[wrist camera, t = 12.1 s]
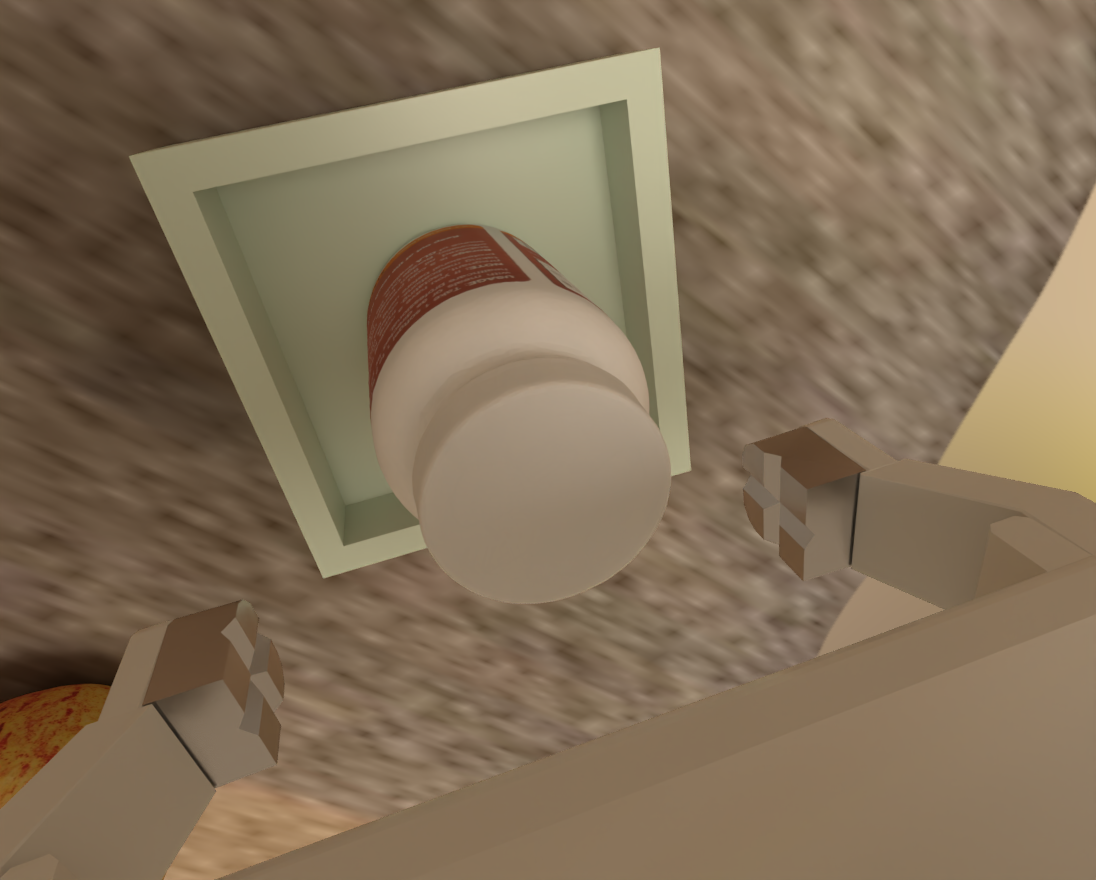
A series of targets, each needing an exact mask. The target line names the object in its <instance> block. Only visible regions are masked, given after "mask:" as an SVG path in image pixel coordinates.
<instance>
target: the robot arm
mask: <svg viewBox="0 0 1096 880" xmlns="http://www.w3.org/2000/svg"><path fill="white" fill-rule="evenodd" d="M743 467H744V468H745V469H746V470H747V471H748V472H749V473H750V474H751V476H750V477H749V479H748V481H747V483H746V484H745V486H744V488H743V496H744V506H745V509H746V512H747V515H748V518H749V521H750V522H751V524H752V526H753V527H754V529H755V530H756V532H757V533H758V534H759V535H760V536H761V537H762V538H763V539H764V540H767V541H770V542H773V543H776V544H779V556H780V557H781V558H782V560H783V561H784V562H785V563H786V564H787V565H788V566H789V567H790V568H791V569H792V570H793V571H794V572H795V573H796V574H797V575H798V576H799V577H800V578H801V580H802V581H806V580H809V579H813V578H816V577H819V576H822V575H825V574H828V573H831V572H835V571H838V570H841V569H844V568H847V567H850V566H851V569H853V570H855V571H858V572H860V573H862V574H865V575H867V576H869V577H871V578H874V579H876V580H878V581H881V582H883V583H885V584H887V585H890V586H892V587H895V588H897V589H899V590H901V591H904V592H906V593H908V594H910V595H913V596H915V597H918V598H920V599H922V600H924V601H927V602H929V603H931V604H934V605H936V606H938V607H940V608H943V609H945V610H943V611H940V612H938V613H935V614H932V615H930V616H927V617H925V618H922V619H919V620H917V621H914V622H911V623H908V624H906V625H903V626H900V627H897V628H895V629H892V630H889V631H887V632H884V633H881V634H879V635H876V636H873V637H871V638H868V639H865V640H863V641H860V642H857V643H855V644H852V645H849V646H846V647H844V648H841V649H838V650H836V651H833V652H830V653H827V654H824V655H822V656H819V657H816V658H814V659H811V660H808V661H805V662H803V663H800V664H797V665H795V666H792V667H789V668H786V669H784V670H781V671H778V672H776V673H773V674H770V675H767V676H765V677H762V678H759V679H756V680H754V681H751V682H748V683H746V684H743V685H740V686H737V687H735V688H732V689H729V690H727V691H724V692H721V693H718V694H716V695H713V696H710V697H708V698H705V699H702V700H699V701H697V702H694V703H691V704H689V705H686V706H683V707H680V708H678V709H675V710H672V711H670V712H667V713H664V714H661V715H659V716H656V717H653V718H651V719H648V720H645V721H643V722H640V723H637V724H634V725H632V726H629V727H626V728H624V729H621V730H618V731H616V732H613V733H610V734H607V735H605V736H602V737H599V738H597V739H594V740H591V741H589V742H586V743H583V744H580V745H578V746H575V747H572V748H570V749H567V750H564V751H562V752H559V753H556V754H553V755H551V756H548V757H545V758H543V759H540V760H537V761H534V762H532V763H529V764H526V765H524V766H521V767H518V768H516V769H513V770H510V771H507V772H505V773H502V774H499V775H497V776H494V777H491V778H489V779H486V780H483V781H480V782H478V783H475V784H472V785H470V786H467V787H464V788H462V789H459V790H456V791H453V792H451V793H448V794H445V795H443V796H440V797H437V798H434V799H432V800H429V801H426V802H424V803H421V804H418V805H416V806H413V807H410V808H407V809H405V810H402V811H399V812H397V813H394V814H391V815H388V816H386V817H383V818H380V819H378V820H375V821H372V822H370V823H367V824H364V825H361V826H359V827H356V828H353V829H351V830H348V831H345V832H342V833H340V834H337V835H334V836H332V837H329V838H326V839H324V840H321V841H318V842H315V843H313V844H310V845H307V846H305V847H302V848H299V849H296V850H294V851H291V852H288V853H286V854H283V855H280V856H278V857H275V858H272V859H269V860H267V861H264V862H261V863H259V864H256V865H253V866H250V867H248V868H245V869H242V870H240V871H237V872H234V873H232V874H229V875H226V876H223V877H221V878H218V879H215V880H1096V503H1094V502H1093V501H1091V500H1089V499H1087V498H1085V497H1083V496H1082V495H1080V494H1078V493H1076V492H1071V491H1066V490H1061V489H1056V488H1051V487H1046V486H1041V485H1036V484H1031V483H1026V482H1021V481H1015V480H1011V479H1006V478H1000V477H996V476H991V475H985V474H981V473H976V472H970V471H966V470H961V469H955V468H950V467H946V466H941V465H936V464H930V463H925V462H920V461H915V460H910V459H903V460H900V461H896V460H895V459H893V458H892V457H890V456H889V455H887V454H886V453H884V452H883V451H881V450H880V449H878V448H877V447H875V446H874V445H872V444H871V443H869V442H868V441H866V440H865V439H863V438H862V437H860V436H859V435H857V434H856V433H854V432H853V431H851V430H850V429H848V428H847V427H845V426H844V425H842V424H841V423H839V422H838V421H836V420H834V419H829V418H824V419H822V420H819V421H816V422H813V423H810V424H807V425H804V426H801V427H799V428H798V429H795V430H792V431H789V432H785V433H782V434H779V435H776V436H773V437H770V438H766V439H763V440H760V441H757V442H754V443H751V444H747V445H745V448H744V451H743ZM258 623H259V617H258V615H257V614H256V612H255V610H254V609H253V607H252V605H251V604H250V602H247V601H245V600H239V601H236V602H232V603H229V604H225V605H222V606H218V607H215V608H211V609H208V610H204V611H201V612H197V613H194V614H190V615H187V616H183V617H180V618H176V619H174V620H171V621H167V622H163V623H160V624H157V625H153V626H150V627H147V628H144V629H140V630H138V631H137V632H136V633H134V634H133V635H132V636H131V638H130V640H129V642H128V645H127V647H126V650H125V653H124V655H123V658H122V660H121V663H120V665H119V668H118V670H117V673H116V676H115V678H114V681H113V683H112V686H111V688H110V691H109V694H108V696H107V699H106V701H105V704H104V706H103V709H102V711H101V714H100V717H99V719H98V721H97V722H94V723H91V724H88V725H86V726H85V727H84V728H83V729H82V730H81V731H80V732H79V733H77V734H76V735H75V736H74V737H73V738H72V739H71V740H70V741H69V742H68V743H67V744H66V745H65V746H64V747H63V748H62V749H61V750H60V751H59V752H58V753H57V754H56V755H55V756H54V757H53V758H52V759H51V760H50V761H49V762H48V763H47V764H46V765H45V766H44V767H43V768H42V769H41V770H40V771H39V772H38V773H37V774H36V775H35V776H34V777H33V778H32V779H31V780H30V781H29V782H28V783H27V784H26V785H25V786H24V787H23V788H22V789H20V790H19V791H18V792H17V793H16V794H15V795H14V796H13V797H12V798H11V799H10V800H9V801H8V802H7V803H6V804H5V805H4V806H3V807H2V808H1V809H0V880H162V878H163V876H164V875H165V873H166V872H167V870H168V868H169V867H170V865H171V864H172V862H173V860H174V859H175V857H176V855H177V854H178V852H179V851H180V849H181V847H182V846H183V844H184V843H185V841H186V839H187V838H188V836H189V834H190V833H191V831H192V830H193V828H194V826H195V825H196V823H197V821H198V820H199V818H200V817H201V815H202V813H203V812H204V810H205V809H206V807H207V805H208V804H209V802H210V800H211V799H212V797H213V796H214V794H215V792H216V790H215V788H217V787H219V786H222V785H225V784H227V783H230V782H233V781H235V780H238V779H241V778H243V777H246V776H249V775H251V774H254V773H257V772H259V771H262V770H264V769H267V768H270V767H272V766H275V765H277V760H278V750H279V740H280V730H281V724H280V723H279V721H278V719H277V717H276V716H275V714H274V712H275V711H276V709H277V708H278V707H279V705H280V704H281V703H282V701H283V698H284V677H283V669H282V664H281V661H280V658H279V655H278V652H277V650H276V648H275V646H274V644H273V642H272V640H271V639H269V638H267V637H265V636H263V635H260V634H258V633H257V630H258Z"/></svg>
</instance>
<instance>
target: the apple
mask: <svg viewBox="0 0 1096 880" xmlns="http://www.w3.org/2000/svg"><path fill="white" fill-rule="evenodd" d="M110 688H111V686H108V685H102V684H76V685H66V686H60V687H55V688H50V689H46V690H42V691H38V692H33V693H29V694H25V695H22V696H19V697H16V698H13V699H10V700H8V701H5V702H3V703H0V809H1V808H2V807H3V806H4V805H5V804H6V803H7V802H8V801H9V800H10V799H11V798H12V797H13V796H14V795H15V794H16V793H17V792H18V791H19V790H20V789H22V788H23V787H24V786H25V785H26V784H27V783H28V782H29V781H30V780H31V779H32V778H33V777H34V776H35V775H36V774H37V773H38V772H39V771H40V770H41V769H42V768H43V767H44V766H45V765H46V764H47V763H48V762H49V761H50V760H51V759H52V758H53V757H54V756H55V755H56V754H57V753H58V752H59V751H60V750H61V749H62V748H63V747H64V746H65V745H66V744H67V743H68V742H69V741H70V740H71V739H72V738H73V737H74V736H75V735H76V734H77V733H79V732H80V731H81V730H82V729H83V728H84V727H85V726H86V725H88V724H91V723H94V722H97V721H98V719H99V717H100V714H101V711H102V709H103V706H104V704H105V701H106V699H107V696H108V694H109V691H110ZM165 875H166V873H165ZM165 875H164V876H163V878H162V880H163V879H164V877H165Z"/></svg>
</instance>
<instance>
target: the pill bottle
mask: <svg viewBox="0 0 1096 880" xmlns="http://www.w3.org/2000/svg"><path fill="white" fill-rule="evenodd" d="M367 346H368V372H369V382H368V384H369V398H370V405H369V406H370V419H371V428H372V435H373V442H374V447H375V452H376V456H377V460H378V463H379V466H380V468H381V470H382V473H383V475H384V477H385V479H386V481H387V483H388V485H389V486H390V488H391V489H392V491H393V493H394V494H395V496H396V497H397V498H398V499H399V501H400V502H401V503H402V505H403V506H404V507H405V508H406V509H407V510H408V511H409V512H410V513H411V514H412V515H413V516H415V517H416V518H417V519H418V520H419V524H420V528H421V532H422V536H423V538H424V541H425V544H426V546H427V548H428V550H429V552H430V554H431V555H432V557H433V558H434V560H435V561H436V563H437V564H438V565H439V567H440V568H441V569H442V570H443V571H444V572H445V573H446V574H447V575H448V576H449V577H450V578H452V579H453V580H454V581H455V582H457V583H458V584H460V585H461V586H463V587H464V588H466V589H468V590H469V591H471V592H473V593H476V594H478V595H480V596H483V597H486V598H489V599H493V600H497V601H500V602H506V603H514V604H538V603H545V602H552V601H557V600H561V599H565V598H568V597H572V596H574V595H577V594H579V593H582V592H585V591H587V590H589V589H591V588H593V587H595V586H597V585H599V584H601V583H603V582H604V581H606V580H608V579H609V578H611V577H612V576H613V575H615V574H616V573H617V572H619V571H620V570H621V569H623V568H624V567H625V566H626V565H628V564H629V563H630V562H631V561H632V560H633V559H634V558H635V557H636V556H637V555H638V553H639V552H640V551H641V550H642V549H643V548H644V547H645V545H646V544H647V543H648V541H649V540H650V538H651V537H652V535H653V534H654V532H655V530H656V529H657V527H658V525H659V523H660V521H661V519H662V516H663V514H664V512H665V509H666V506H667V503H668V498H669V493H670V488H671V464H670V457H669V453H668V449H667V446H666V443H665V441H664V439H663V436H662V434H661V432H660V430H659V428H658V426H657V425H656V423H655V422H654V421H653V419H652V418H651V417H650V415H649V393H648V387H647V382H646V378H645V374H644V371H643V367H642V365H641V362H640V360H639V358H638V356H637V354H636V351H635V350H634V348H633V346H632V345H631V343H630V342H629V340H628V338H627V337H626V336H625V334H624V333H623V332H622V331H621V330H620V328H619V327H618V326H617V325H616V324H615V323H614V322H613V321H612V320H611V319H610V318H609V317H608V316H607V314H605V313H604V312H603V311H602V310H601V309H600V308H599V307H598V306H596V305H595V304H594V303H593V302H592V301H591V300H590V299H589V298H588V297H586V296H585V295H584V294H583V293H582V292H581V291H580V290H579V289H578V288H577V287H575V286H574V285H573V284H572V283H571V282H570V281H569V280H568V279H566V278H565V277H564V276H563V275H562V274H561V273H560V272H559V271H558V270H557V269H555V268H554V267H553V266H552V265H551V264H550V263H549V262H548V261H547V260H546V259H545V258H543V257H542V256H541V255H540V254H539V253H538V252H536V251H535V250H534V249H533V248H532V247H530V246H529V245H528V244H526V243H525V242H523V241H522V240H520V239H519V238H517V237H516V236H514V235H512V234H510V233H508V232H505V231H503V230H500V229H497V228H494V227H490V226H485V225H478V224H456V225H450V226H445V227H441V228H438V229H434V230H431V231H429V232H426V233H424V234H422V235H420V236H418V237H416V238H414V239H413V240H411V241H410V242H408V243H407V244H406V245H404V246H403V247H402V248H401V249H400V250H398V251H397V252H396V253H395V254H394V255H393V256H392V257H391V259H390V260H389V261H388V262H387V263H386V265H385V266H384V268H383V269H382V271H381V273H380V274H379V276H378V278H377V280H376V282H375V284H374V287H373V290H372V293H371V296H370V300H369V306H368V312H367Z"/></svg>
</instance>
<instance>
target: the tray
mask: <svg viewBox="0 0 1096 880" xmlns="http://www.w3.org/2000/svg"><path fill="white" fill-rule="evenodd" d="M129 158H130V161H131V163H132V165H133V167H134V169H135V171H136V174H137V176H138V178H139V180H140V182H141V184H142V187H143V189H144V191H145V193H146V195H147V197H148V200H149V202H150V204H151V206H152V208H153V210H154V213H155V215H156V217H157V219H158V221H159V223H160V226H161V228H162V230H163V232H164V234H165V236H166V239H167V241H168V243H169V245H170V247H171V249H172V252H173V254H174V256H175V258H176V260H177V262H178V265H179V267H180V269H181V271H182V273H183V275H184V278H185V280H186V282H187V284H188V286H189V288H190V291H191V293H192V295H193V297H194V299H195V301H196V304H197V306H198V308H199V310H200V312H201V314H202V317H203V319H204V321H205V323H206V325H207V327H208V330H209V332H210V334H211V336H212V338H213V340H214V343H215V345H216V347H217V349H218V351H219V353H220V356H221V358H222V360H223V362H224V364H225V366H226V369H227V371H228V373H229V375H230V377H231V379H232V382H233V384H234V386H235V388H236V390H237V392H238V395H239V397H240V399H241V401H242V403H243V405H244V408H245V410H246V412H247V414H248V416H249V418H250V421H251V423H252V425H253V427H254V429H255V431H256V434H257V436H258V438H259V440H260V442H261V444H262V447H263V449H264V451H265V453H266V455H267V457H268V460H269V462H270V464H271V466H272V468H273V470H274V473H275V475H276V477H277V479H278V481H279V483H280V486H281V488H282V490H283V492H284V494H285V496H286V499H287V501H288V503H289V505H290V507H291V509H292V512H293V514H294V516H295V518H296V520H297V522H298V525H299V527H300V529H301V531H302V533H303V535H304V538H305V540H306V542H307V544H308V546H309V548H310V551H311V553H312V555H313V557H314V559H315V561H316V564H317V566H318V568H319V570H320V572H321V574H322V577H323V578H327V577H330V576H333V575H337V574H340V573H344V572H347V571H350V570H354V569H357V568H361V567H364V566H367V565H371V564H374V563H378V562H381V561H384V560H388V559H391V558H395V557H398V556H402V555H405V554H408V553H412V552H415V551H419V550H422V549H425V548H427V546H426V544H425V541H424V538H423V536H422V532H421V528H420V524H419V520H418V519H417V518H416V517H415V516H413V515H412V514H411V513H410V512H409V511H408V510H407V509H406V508H405V507H404V506H403V505H402V503H401V502H400V501H399V499H398V498H397V497H396V496H395V494H394V493H393V491H392V489H391V488H390V486H389V485H388V483H387V481H386V479H385V477H384V475H383V473H382V470H381V468H380V466H379V463H378V460H377V456H376V452H375V447H374V442H373V435H372V428H371V419H370V406H369V405H370V398H369V384H368V382H369V372H368V346H367V312H368V306H369V300H370V296H371V293H372V290H373V287H374V284H375V282H376V280H377V278H378V276H379V274H380V273H381V271H382V269H383V268H384V266H385V265H386V263H387V262H388V261H389V260H390V259H391V257H392V256H393V255H394V254H395V253H396V252H397V251H398V250H400V249H401V248H402V247H403V246H404V245H406V244H407V243H408V242H410V241H411V240H413V239H414V238H416V237H418V236H420V235H422V234H424V233H426V232H429V231H431V230H434V229H438V228H441V227H445V226H450V225H456V224H478V225H485V226H490V227H494V228H497V229H500V230H503V231H505V232H508V233H510V234H512V235H514V236H516V237H517V238H519V239H520V240H522V241H523V242H525V243H526V244H528V245H529V246H530V247H532V248H533V249H534V250H535V251H536V252H538V253H539V254H540V255H541V256H542V257H543V258H545V259H546V260H547V261H548V262H549V263H550V264H551V265H552V266H553V267H554V268H555V269H557V270H558V271H559V272H560V273H561V274H562V275H563V276H564V277H565V278H566V279H568V280H569V281H570V282H571V283H572V284H573V285H574V286H575V287H577V288H578V289H579V290H580V291H581V292H582V293H583V294H584V295H585V296H586V297H588V298H589V299H590V300H591V301H592V302H593V303H594V304H595V305H596V306H598V307H599V308H600V309H601V310H602V311H603V312H604V313H605V314H607V316H608V317H609V318H610V319H611V320H612V321H613V322H614V323H615V324H616V325H617V326H618V327H619V328H620V330H621V331H622V332H623V333H624V334H625V336H626V337H627V338H628V340H629V342H630V343H631V345H632V346H633V348H634V350H635V351H636V354H637V356H638V358H639V360H640V362H641V365H642V367H643V371H644V374H645V378H646V382H647V387H648V393H649V415H650V417H651V418H652V419H653V421H654V422H655V423H656V425H657V426H658V428H659V430H660V432H661V434H662V436H663V439H664V441H665V443H666V446H667V449H668V453H669V457H670V464H671V476H674V475H678V474H681V473H684V472H688V471H691V464H690V450H689V437H688V423H687V410H686V396H685V383H684V369H683V356H682V342H681V329H680V315H679V302H678V288H677V275H676V261H675V248H674V234H673V221H672V207H671V194H670V180H669V167H668V153H667V140H666V127H665V113H664V100H663V86H662V73H661V59H660V48H653V49H646V50H640V51H633V52H626V53H620V54H615V55H610V56H605V57H600V58H595V59H590V60H585V61H580V62H575V63H571V64H566V65H561V66H556V67H551V68H546V69H541V70H536V71H531V72H526V73H522V74H517V75H512V76H507V77H502V78H497V79H492V80H487V81H482V82H477V83H472V84H468V85H463V86H458V87H453V88H448V89H443V90H438V91H433V92H428V93H423V94H419V95H414V96H409V97H404V98H399V99H394V100H389V101H384V102H379V103H374V104H369V105H365V106H360V107H355V108H350V109H345V110H340V111H335V112H330V113H325V114H320V115H316V116H311V117H306V118H301V119H296V120H291V121H286V122H281V123H276V124H271V125H266V126H262V127H257V128H252V129H247V130H242V131H237V132H232V133H227V134H222V135H217V136H212V137H208V138H203V139H198V140H193V141H188V142H183V143H178V144H173V145H168V146H163V147H160V148H156V149H152V150H149V151H145V152H141V153H138V154H134V155H130V156H129Z"/></svg>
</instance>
